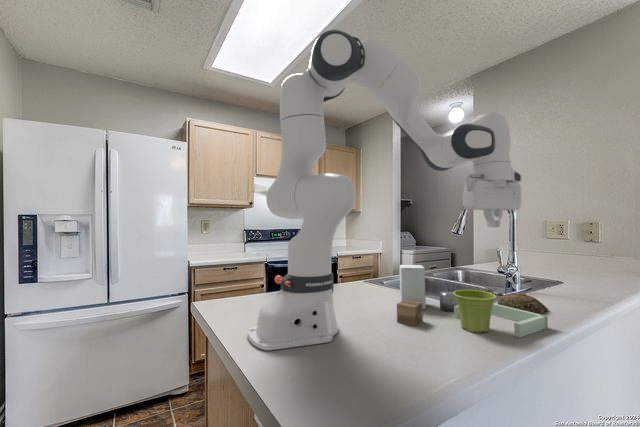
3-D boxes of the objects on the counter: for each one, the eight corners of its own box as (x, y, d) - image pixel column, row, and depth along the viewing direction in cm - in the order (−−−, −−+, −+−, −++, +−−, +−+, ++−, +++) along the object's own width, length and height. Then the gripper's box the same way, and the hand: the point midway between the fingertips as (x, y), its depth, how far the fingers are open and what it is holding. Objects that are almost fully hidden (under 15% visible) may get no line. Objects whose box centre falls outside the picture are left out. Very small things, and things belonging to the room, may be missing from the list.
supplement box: (426, 309, 91) (425, 268, 91) (401, 308, 92) (400, 267, 93) (422, 302, 98) (422, 264, 98) (399, 302, 100) (399, 264, 100)
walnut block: (414, 326, 76) (414, 307, 76) (397, 322, 80) (396, 303, 80) (422, 321, 80) (422, 303, 80) (405, 317, 83) (405, 299, 84)
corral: (520, 337, 68) (519, 324, 68) (454, 316, 83) (453, 306, 83) (547, 328, 74) (547, 316, 74) (481, 310, 89) (481, 300, 89)
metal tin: (450, 313, 87) (449, 296, 87) (436, 309, 91) (436, 292, 91) (461, 310, 89) (461, 294, 89) (447, 306, 93) (447, 290, 94)
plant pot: (496, 338, 67) (495, 300, 68) (451, 331, 72) (450, 295, 73) (497, 326, 75) (496, 292, 76) (457, 320, 80) (456, 288, 81)
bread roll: (493, 309, 91) (492, 293, 91) (502, 301, 100) (501, 286, 100) (545, 318, 82) (544, 300, 82) (550, 308, 91) (549, 292, 91)
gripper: (478, 171, 72) (480, 228, 71) (525, 176, 81) (527, 226, 81) (455, 175, 77) (457, 227, 77) (502, 179, 87) (503, 226, 86)
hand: (493, 227), depth 79 cm, fingers closed
